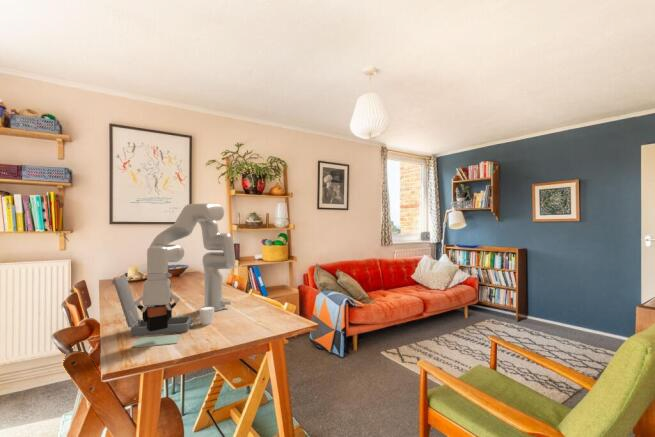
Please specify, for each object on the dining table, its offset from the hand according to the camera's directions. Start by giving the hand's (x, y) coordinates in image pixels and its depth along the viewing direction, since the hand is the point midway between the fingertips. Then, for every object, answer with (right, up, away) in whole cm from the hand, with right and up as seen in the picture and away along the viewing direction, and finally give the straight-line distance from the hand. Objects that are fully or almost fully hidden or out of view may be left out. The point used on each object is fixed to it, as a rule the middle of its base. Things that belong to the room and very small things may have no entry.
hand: (157, 320), depth 129 cm
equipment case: (-5, -9, +14) cm, 17 cm away
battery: (0, -4, 0) cm, 4 cm away
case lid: (-18, +5, +11) cm, 22 cm away
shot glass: (+11, -9, +24) cm, 28 cm away
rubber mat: (0, -9, 0) cm, 9 cm away
